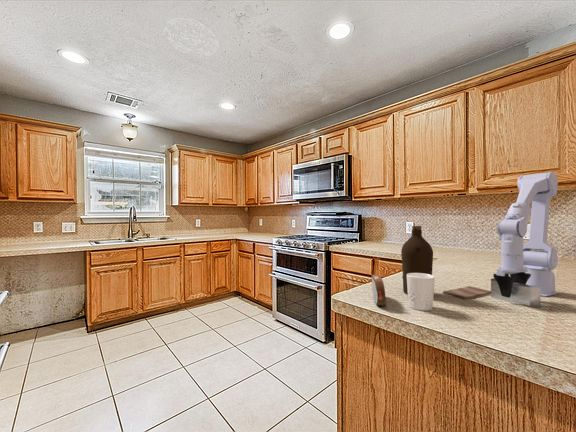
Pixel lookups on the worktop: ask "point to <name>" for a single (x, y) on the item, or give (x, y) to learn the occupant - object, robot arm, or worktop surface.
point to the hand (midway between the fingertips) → (512, 295)
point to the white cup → (420, 291)
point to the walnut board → (467, 292)
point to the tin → (378, 290)
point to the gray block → (519, 294)
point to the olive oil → (416, 256)
